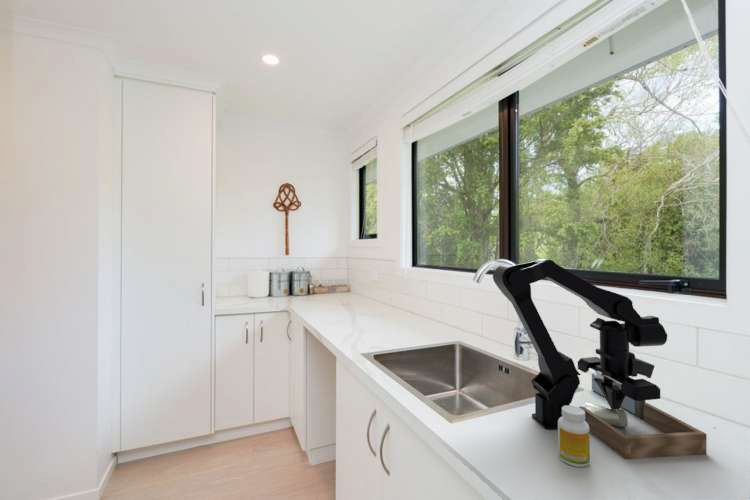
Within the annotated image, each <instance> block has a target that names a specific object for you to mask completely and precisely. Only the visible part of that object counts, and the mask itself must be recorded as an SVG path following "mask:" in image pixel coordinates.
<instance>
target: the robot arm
mask: <svg viewBox="0 0 750 500" xmlns="http://www.w3.org/2000/svg"><path fill="white" fill-rule="evenodd" d="M492 279H493V282H494V283H495V285H496V287H497V288H498V289H499V290H500V292H501V293H502V295H504V297H506V299H507V300H508V301H509V302H510V303H511V305H512V306H513V308H514V311H515V312H516V314H517V316H518V318H519V320H520V322H521V324H522V326H523V328H524V330H525V333H526V334H527V336H528V338H529V340H530V342H531V344H532V346H533V348H534V350H535V352H536V355H537V361H538V363H537V364H538V369H539V373H537V374H536V375H535V377H533V378H532V379H531V380H530V383H531V385H532V387H533V389H534V390H535V391H536V393H534V396H535V397H534V398H535V402H534V404H535V406H534V407H535V408H534V409H535V412H534V413H531V417H532V418H533V419H534V420H536V421H537V423H539V424H540V425H541V426H542V427H543V428H544V429H546V430H553V429H554V430H558V420H559V418H560V417H562V407H563V406H567V405H569V406H571V404H572V401H573V399H574V395H575V393H576V391H577V390H578V388H579V386H580V385H581V380H580V378H579V377H580V376H581V373H580V372H579V371H581V372H582V373H588V372H589V371H590V369H592V370H594V371H595V372H594V373H597V378H594V381H595V382H596V383H597V384H598V386H599V388H600V389H601V391H602V393H603V394H604V396H605V397H604V396H603V397H604V398H605V399H606V402H607V404H608V406H609V408H610V409H612V410H615V409H621V408H622V407H621V404H622V402H623V400H624V398H625V396H627V397H629V398H631V399H633V400H636V401H643V400H645V401H650V400H651V401H653V400H659V399H660V400H661V388H660V387H659V386H658V385H657V384H655V383H654V382H653V383H652V382H651V381H649V380H646V379H644V378H638V379H634V378H633V377H638V375H641V376H643V377H644V376H645V377H646V378H647V379H651V378H652V377H653V373H654V368H655V364H652V363H649V362H647V361H645V360H643V359H640V358H637V357H636V355H635V353H634V352H632V351H630V345H631V346H633V347H639V348H640V347H656V346H657V347H659V346H664V345H665V344H666V343H667V341H668V333H667V332H666V330H665V327H664V326H663V324H661V322H660V318H659V317H658V316H654V315H645V316H641V315H640V314H639V313H638V312H637V310H636V309H635V308H634V306H633V305H634V304H633V301H632V299H630V298H629V297H628V296H625V295H623V294H619V293H617V292H613V291H611V290H607V289H604V288H601V287H598V286H596V285H595V284H593V283H591V282H589V281H587V280H585V278H582V277H580V276H578V275H576V274H575V273H573V272H571V271H570V270H568V269H566V268H565V267H563V266H561V265H559V264H557V263H556V262H555V261H554V260H552V259H548V258H538V259H535V260H533V261H530V262H524V263H520V264H519V263H518V264H515V265H512V264H502V265H499V266H498V267H496V269H494V271H493V275H492ZM543 279H547V280H548V281H549V282H552V283H553V284H555V285H557V286H559V287H561V288H563V289H564V290H565V291H568V292H570V293H571V294H573V295H575V297H577V298H580V299H582V301H584V302H585V304H586V305H587V306H588V307H589V308H590V309H592V310H593V312H595V313H597V314H598V315H600V316H603V317H605V318H609V319H610V320H605V319H602V318H600V317H597V318H596V319H595V320H594V321H592V322H591V323H590V324H589V327H591V328H592V329H595V330H597V331H599V348H595V354H597V355H599V357H598V356H589V357H581V358H579V360H578V361H577V368H576V366H575V361H574V360H573V358H571V357H570V356H568V355H566V354H564V353H563V352H560V351H558V349H557V347H556V344H555V342H554V341H553V339H552V337H551V335H550V333H549V331H548V329H547V327H546V325H545V323H544V321H543V318H542V317H541V315H540V312H539V311H538V309H537V307H536V305H535V303H534V301H533V298H532V287H531V284H534V283H537V282H538V281H540V280H543ZM611 319H612V320H611ZM619 321H620V322H622V323H620V322H619ZM623 322H624V323H623ZM578 370H579V371H578Z"/></svg>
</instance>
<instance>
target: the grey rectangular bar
mask: <svg viewBox="0 0 750 500" xmlns="http://www.w3.org/2000/svg"><path fill="white" fill-rule="evenodd" d="M594 378H597V373H596V372H594V373H591V390H592V391H594V392H596V393H597V394H599V395H601V396H602V397H604V398H605V396H604V394H603V393H602V391H601V389H600V388H599V386H598V384H597V383H596V382H595V381H594ZM620 408H623V409H625V410H626V411H629V413H632V414H633V415H637V401H636V400H633V399H631V398H629V397H627V396H625V398H624V400H623V402H622V404H621V407H620Z"/></svg>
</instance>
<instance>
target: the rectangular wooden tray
mask: <svg viewBox="0 0 750 500" xmlns="http://www.w3.org/2000/svg"><path fill="white" fill-rule="evenodd" d="M578 407H579V408H581V409H583V410H584V411H585V421H586V422H587V424H588V425H589V430H590V432H589V433H591V434H593V435H594V436H595V437H596V438H597V439H599V440H600V441H602V442H603V443H604V444H605V445H606V446H608V447H609V448H610V449H612V450H613V451H615V452H616V453H617V454H619V456H621V457H623V459H625V460H632V459H650V458H664V457H666V458H667V457H668V458H669V457H681V456H683V457H684V456H696V455H707V433H705V432H703V431H701V430H700V429H698V428H696V427H694V426H692V425H690V424H689V423H686V422H685V421H682V420H681V419H679V418H677V417H675V416H673V415H671V414H669V413H667V412H665V411H663V410H661V409H659V408H657V407H656V406H654V405H652V404H650V403H649V402H646V400H643V401H637V414H636V417H637V418H638V419H641V420H643V421H644V422H646V423H648V424H650V425H651V426H653V427H655V428H656V429H658V430H660V431H661V432H663V433H651V434H650V433H649V434H634V435H633V434H632V435H626V433H623V432H622V431H621V430H619V429H617V428H616V426H615V427H614V425H610V424H609V423H607V422H606V421H604V420H603V419H601V418H600V417H598V416H597V415H595V414H594V413H592V412H591V411H590V410H588V409H587V408H585V407H584V406H583V405H581V406H578Z"/></svg>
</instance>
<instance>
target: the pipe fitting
mask: <svg viewBox="0 0 750 500" xmlns="http://www.w3.org/2000/svg"><path fill="white" fill-rule="evenodd" d="M582 406H584V407H585V408H587V409H588V410H590V411H591V412H592V413H594V414H595V415H597V416H598V417H600V418H601V419H603V420H604V421H606V422H607V423H609V424H610V425H612V426H615V427H619V428H626V427H628V423H629V421H628V416H627V413H626V412H625V410H624V409H621V408H620V409H615V410H612V409H611V408H610V407H609V408H608V407H606V406H601V405H599V404H596V403H592V402H589V401H588V402H586V403H585V404H583V405H582Z"/></svg>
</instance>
